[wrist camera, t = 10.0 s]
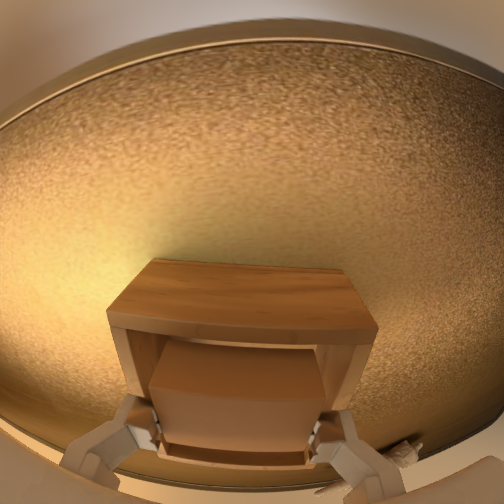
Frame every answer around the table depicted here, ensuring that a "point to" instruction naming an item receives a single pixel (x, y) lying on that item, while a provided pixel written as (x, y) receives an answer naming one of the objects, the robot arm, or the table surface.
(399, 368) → the table surface
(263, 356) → the tan rectangular block
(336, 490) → the seashell
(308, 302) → the holder
